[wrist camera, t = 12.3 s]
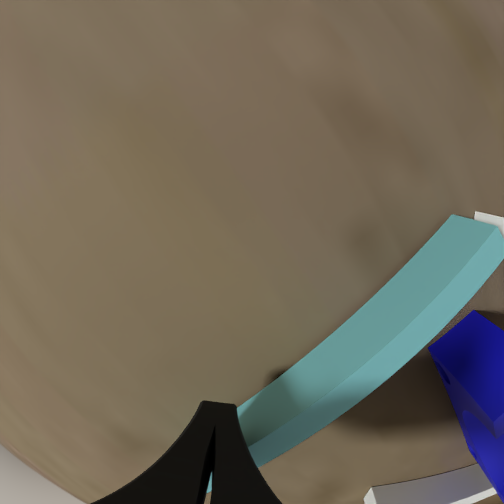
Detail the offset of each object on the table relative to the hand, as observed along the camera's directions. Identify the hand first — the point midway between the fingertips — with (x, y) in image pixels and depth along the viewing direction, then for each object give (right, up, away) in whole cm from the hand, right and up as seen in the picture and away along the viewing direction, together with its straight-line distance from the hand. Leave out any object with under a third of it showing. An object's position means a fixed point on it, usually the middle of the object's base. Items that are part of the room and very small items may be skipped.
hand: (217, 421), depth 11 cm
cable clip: (+15, -2, +3) cm, 15 cm away
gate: (+4, +2, +2) cm, 5 cm away
